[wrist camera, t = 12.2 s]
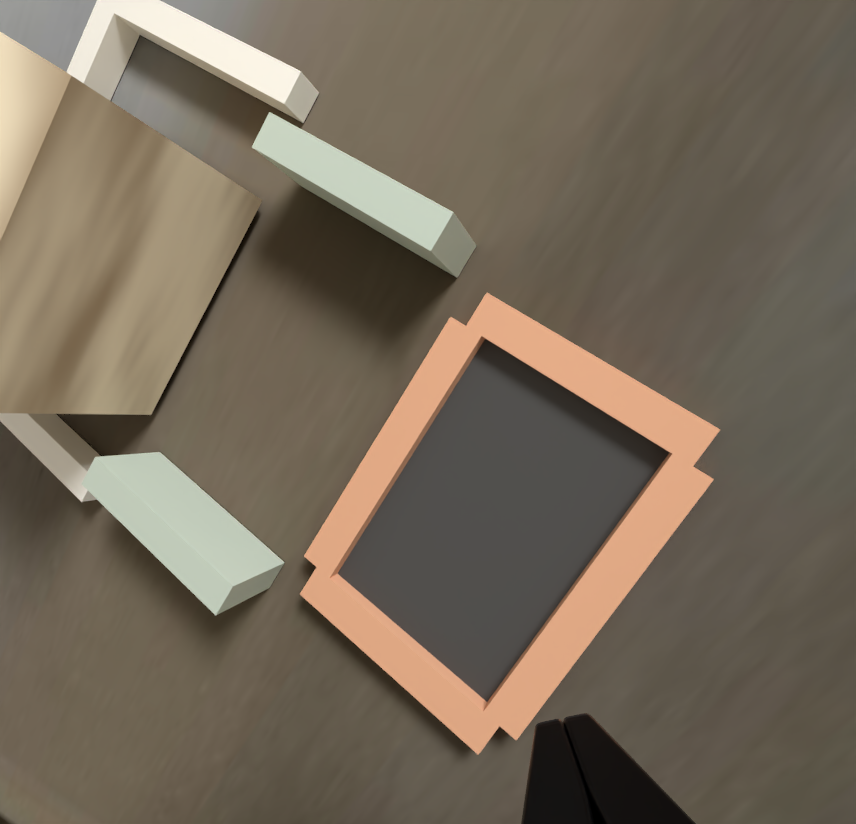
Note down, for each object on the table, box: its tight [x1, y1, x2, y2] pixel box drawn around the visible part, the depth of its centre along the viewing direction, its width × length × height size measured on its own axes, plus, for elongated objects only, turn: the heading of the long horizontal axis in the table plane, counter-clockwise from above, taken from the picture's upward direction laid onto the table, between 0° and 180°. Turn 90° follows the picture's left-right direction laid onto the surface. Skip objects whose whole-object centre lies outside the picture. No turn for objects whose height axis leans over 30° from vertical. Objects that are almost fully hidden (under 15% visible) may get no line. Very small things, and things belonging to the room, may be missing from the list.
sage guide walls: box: [82, 112, 476, 615], centre depth 22 cm, size 9×18×4 cm, turn 144°
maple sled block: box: [0, 32, 262, 415], centre depth 22 cm, size 10×12×9 cm
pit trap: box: [300, 293, 720, 754], centre depth 20 cm, size 11×15×1 cm
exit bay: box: [0, 0, 319, 502], centre depth 26 cm, size 14×23×2 cm, turn 144°
